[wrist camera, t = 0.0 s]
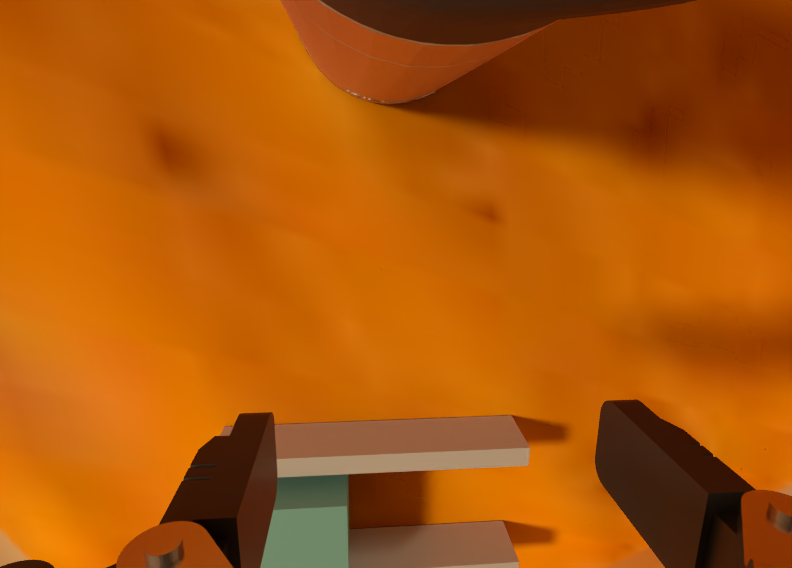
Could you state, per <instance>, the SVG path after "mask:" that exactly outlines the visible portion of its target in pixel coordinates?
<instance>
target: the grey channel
mask: <svg viewBox="0 0 792 568" xmlns="http://www.w3.org/2000/svg"><path fill="white" fill-rule="evenodd" d="M233 427H234V426H224V429H223V431H222V433H221V435H220V436H230V434H231V431H232V429H233ZM275 440H276V456H277V474H278V478H279V477H300V476H321V475H342V474H363V473H384V472H405V471H426V470H447V469H468V468H489V467H510V466H528V464H529V454H530V447H529V445H528V443H527V441H526V440H525V438H524V436H523V434H522V433H521V431H520V429H519V427H518V426H517V424H516V422H515V420H514V419H513V417H512V415H505V416H479V417H454V418H428V419H402V420H376V421H351V422H325V423H299V424H275ZM349 568H519V560H518V558H517V555H516V553H515V550H514V548H513V545H512V543H511V540H510V537H509V535H508V532H507V530H506V527H505V525H504V522H503V521H485V522H468V523H450V524H432V525H415V526H397V527H379V528H362V529H349Z"/></svg>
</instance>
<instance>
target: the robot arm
mask: <svg viewBox="0 0 792 568" xmlns="http://www.w3.org/2000/svg"><path fill="white" fill-rule="evenodd" d="M690 1H695V0H281V2H282V4H283V6H284V8H285V10H286V11H287V13H288V15H289V17H290V19H291V21H292V23H293V25H294V27H295V29H296V31H297V33H298V35H299V37H300V39H301V41H302V43H303V45H304V46H305V48H306V50H307V52H308V54H309V55H310V57H311V58H312V60H313V61H314V63H315V64H316V66H317V67H318V68H319V70H320V71H321V72H322V73H323V74H324V75H325V76H326V77H327V78H328V79H329V80H330V81H331V82H332V83H333V84H334V85H335V86H337V87H339V88H340V89H342V90H343V91H345V92H347V93H348V94H350V95H351V96H354V97H357V98H359V99H362V100H365V101H368V102H372V103H380V104H388V105H389V104H399V103H407V102H410V101H414V100H417V99H421V98H423V97H426V96H428V95H430V94H433V93H435V92H436V90H438V89H440V88H442V87H443V86H445V85H447V84H449V83H451V82H452V81H454V80H456V79H458V78H459V77H461V76H463V75H465V74H466V73H468V72H470V71H472V70H473V69H475V68H477V67H479V66H480V65H482V64H484V63H486V62H488V61H489V60H491V59H493V58H495V57H496V56H498V55H500V54H502V53H503V52H505V51H507V50H509V49H510V48H512V47H514V46H516V45H517V44H519V43H521V42H522V41H524V40H525V39H527V38H529V37H531V36H532V35H534V34H536V33H538V32H539V31H541V30H543V29H545V28H546V27H548V26H550V25H552V24H553V23H555V22H557V21H559V20H560V19H567V18H576V17H586V16H595V15H604V14H613V13H621V12H629V11H636V10H644V9H651V8H657V7H663V6H669V5H675V4H681V3H686V2H690ZM595 464H596V470H597V474H598V477H599V479H600V481H601V483H602V485H603V486H604V487H605V489H606V490H607V491H608V493H609V494H610V495H611V497H612V498H613V499H614V501H615V502H616V503H617V505H618V506H619V507H620V509H621V510H622V511H623V512H624V514H625V515H626V516H627V518H628V519H629V520H630V522H631V523H632V524H633V526H634V527H635V528H636V530H637V531H638V532H639V534H640V535H641V536H642V538H643V539H644V540H645V541H646V543H647V544H648V545H649V547H650V548H651V549H652V551H653V552H654V553H655V555H656V556H657V557H658V559H659V560H660V561H661V563H662V564H663V565H664V566H665V568H792V496H789V495H786V494H783V493H779V492H774V491H768V490H756V489H754V488H753V487H752V486H751V485H750V484H748V483H747V482H746V481H745V480H743V479H742V478H741V477H740V476H739V475H737V474H736V473H735V472H734V471H733V470H731V469H730V468H729V467H728V466H727V465H725V464H724V463H723V462H722V461H721V460H719V459H718V458H717V457H713V454H712V453H711V452H710V451H708V450H707V449H706V448H705V447H704V446H700V443H699V442H698V441H696V440H695V439H694V438H693V437H691V436H690V435H689V434H688V433H687V432H685V431H684V430H683V429H681V428H679V427H677V426H675V425H673V424H671V423H669V422H667V421H665V420H663V419H660V418H659V417H658V416H657V415H656V414H654V413H653V412H652V411H651V410H650V409H649V408H647V407H646V406H645V405H644V404H643V403H642V402H640V401H639V400H614V401H605V402H604V403H603V405H602V407H601V412H600V421H599V429H598V438H597V446H596V454H595ZM277 478H278V474H277V456H276V440H275V424H274V416H273V413H272V412H269V413H242V414H239V416H238V418H237V420H236V422H235V425H234V427H233V429H232V431H231V434H230V436H215V437H213V438H212V439H211V440H210V441H209V442H207V443H206V444H205V445H204V446H203V447H201V448H200V449H199V450H198V452H197V454H196V456H195V458H194V459H193V461H192V463H191V467H190V468H189V469H188V471H187V473H186V475H185V477H184V481H182V482H181V484H180V486H179V488H178V490H177V492H176V494H175V495H174V497H173V499H172V501H171V503H170V505H169V507H168V509H167V511H166V512H165V514H164V516H163V518H162V520H161V522H160V524H159V525H158V526H155V527H153V528H150V529H149V530H147V531H145V532H143V533H141V534H140V535H138V536H137V537H135V538H134V539H133V540H132V541H131V542H130V543H129V544H128V545H127V546H126V547H125V548H124V549H123V551H122V552H121V554H120V555H119V557H118V560H117V563H116V564H114V565H112V566H109V567H107V568H260V567H261V562H262V558H263V553H264V549H265V544H266V540H267V536H268V531H269V527H270V522H271V518H272V514H273V509H274V505H275V500H276V494H277ZM0 568H54V567H53V566H52V565H51V564H50V563H48V562H45V561H41V560H25V561H19V562H15V563H11V564H7V565H5V566H2V567H0Z"/></svg>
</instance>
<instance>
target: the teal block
mask: <svg viewBox="0 0 792 568" xmlns="http://www.w3.org/2000/svg"><path fill="white" fill-rule="evenodd" d="M349 527H350V511H349V474H342V475H321V476H300V477H279V478H277V494H276V500H275V505H274V509H273V514H272V518H271V522H270V527H269V531H268V536H267V540H266V544H265V549H264V553H263V558H262V562H261V567H260V568H349Z"/></svg>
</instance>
